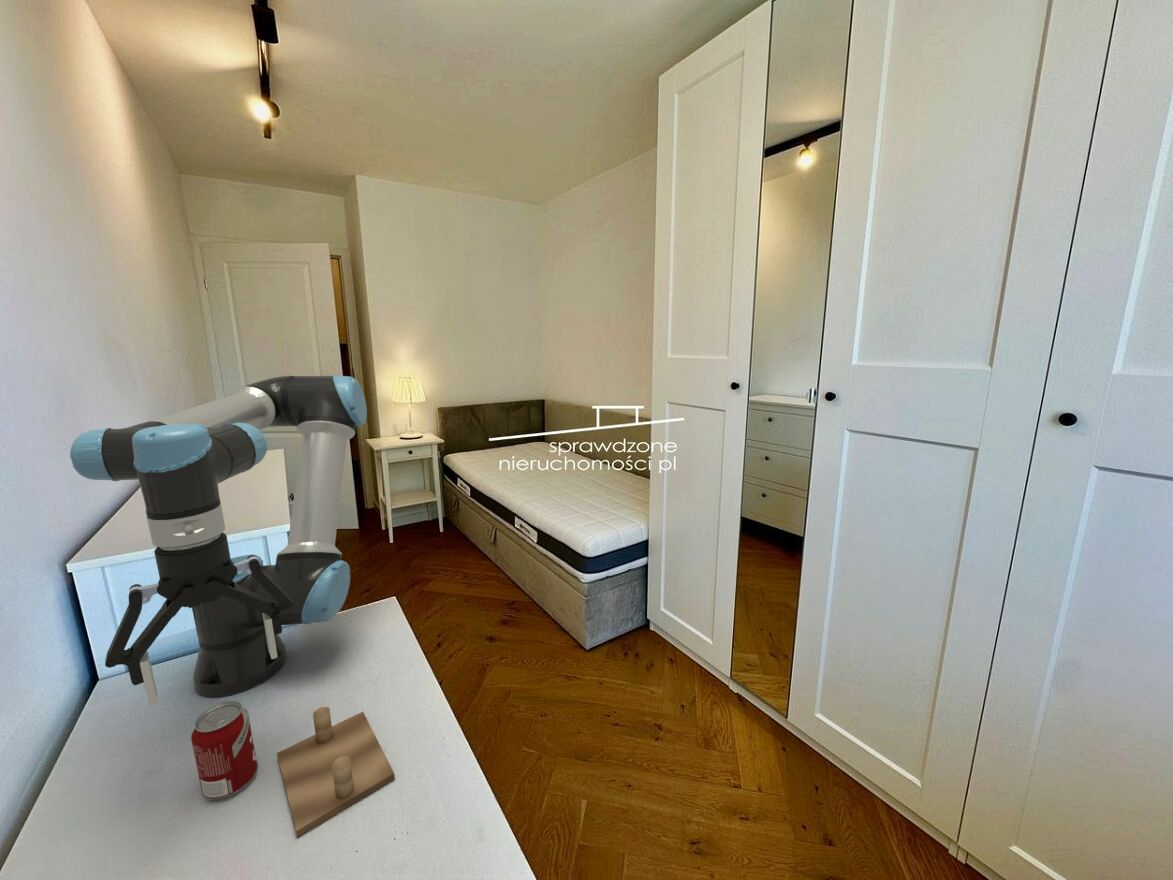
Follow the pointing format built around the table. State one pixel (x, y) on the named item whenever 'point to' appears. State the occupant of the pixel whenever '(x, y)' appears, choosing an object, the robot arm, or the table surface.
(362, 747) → the pegboard
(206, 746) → the soda can
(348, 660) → the table surface
